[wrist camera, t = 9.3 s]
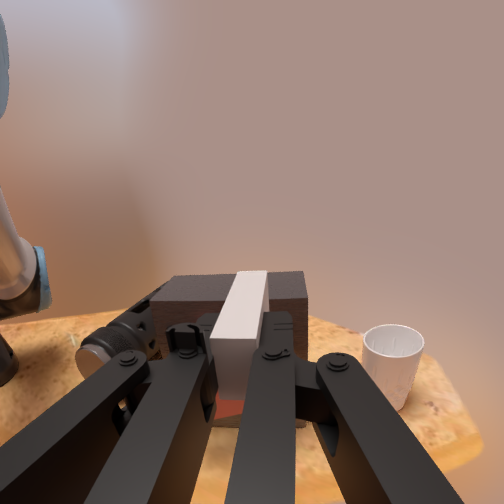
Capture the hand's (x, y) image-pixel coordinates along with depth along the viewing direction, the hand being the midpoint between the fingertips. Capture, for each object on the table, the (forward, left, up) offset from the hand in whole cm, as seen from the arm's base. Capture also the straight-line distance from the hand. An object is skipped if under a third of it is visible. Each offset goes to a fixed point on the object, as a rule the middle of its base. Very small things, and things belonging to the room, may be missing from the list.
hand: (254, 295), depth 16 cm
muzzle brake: (-24, +28, -24) cm, 44 cm away
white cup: (+15, +16, -24) cm, 32 cm away
